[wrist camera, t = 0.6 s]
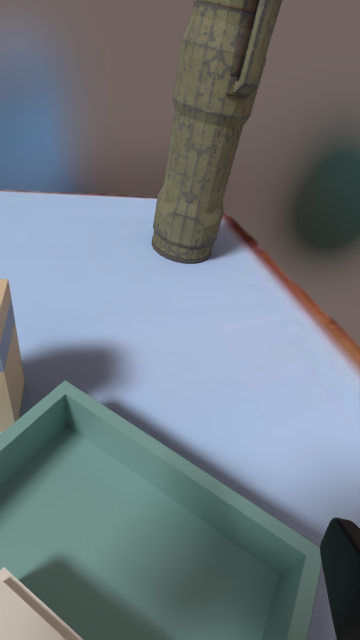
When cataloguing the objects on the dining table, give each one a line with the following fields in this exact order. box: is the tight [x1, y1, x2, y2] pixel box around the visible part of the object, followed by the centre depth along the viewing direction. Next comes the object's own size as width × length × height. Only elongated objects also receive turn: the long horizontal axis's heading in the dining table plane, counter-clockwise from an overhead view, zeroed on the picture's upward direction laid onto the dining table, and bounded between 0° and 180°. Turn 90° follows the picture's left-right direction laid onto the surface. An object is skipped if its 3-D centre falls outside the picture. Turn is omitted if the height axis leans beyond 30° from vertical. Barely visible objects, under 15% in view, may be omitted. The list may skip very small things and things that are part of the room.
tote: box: [0, 380, 322, 640], centre depth 16 cm, size 16×18×4 cm
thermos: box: [152, 0, 282, 264], centre depth 38 cm, size 9×12×35 cm
